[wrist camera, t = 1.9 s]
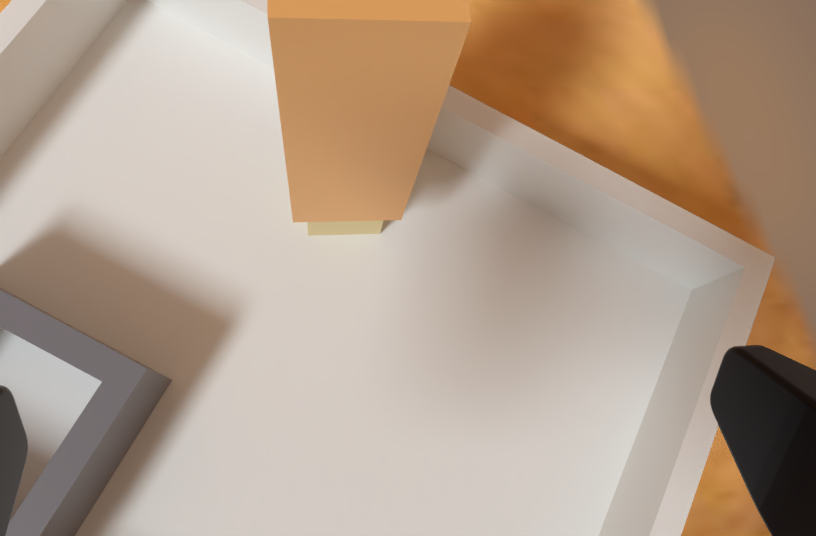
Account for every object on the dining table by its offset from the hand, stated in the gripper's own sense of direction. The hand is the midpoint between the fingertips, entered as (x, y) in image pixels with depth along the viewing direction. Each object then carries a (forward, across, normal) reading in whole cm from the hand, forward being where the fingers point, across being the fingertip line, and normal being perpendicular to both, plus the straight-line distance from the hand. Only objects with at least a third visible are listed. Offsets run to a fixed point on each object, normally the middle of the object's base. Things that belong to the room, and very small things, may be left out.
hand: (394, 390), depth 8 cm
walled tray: (+11, +2, +8) cm, 14 cm away
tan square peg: (+14, 0, +4) cm, 14 cm away
